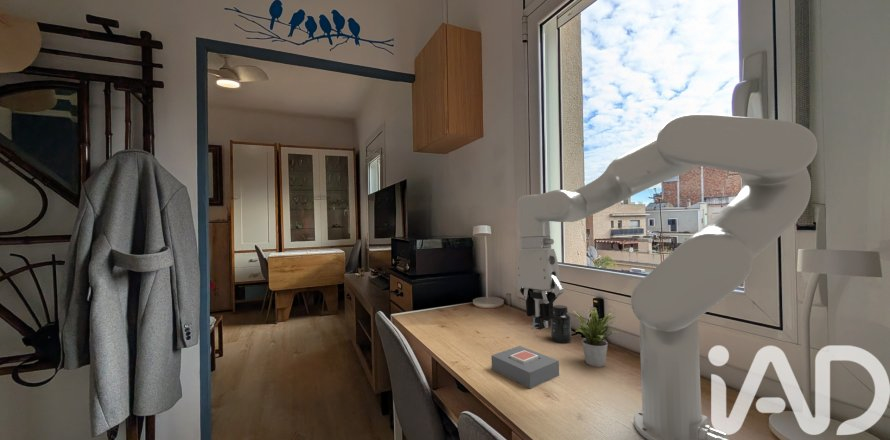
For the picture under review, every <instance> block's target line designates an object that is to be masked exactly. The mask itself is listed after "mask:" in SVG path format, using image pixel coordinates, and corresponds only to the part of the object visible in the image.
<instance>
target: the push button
mask: <svg viewBox="0 0 890 440" xmlns="http://www.w3.org/2000/svg"><path fill="white" fill-rule="evenodd" d="M529 293H530V297H531V298H533V299H534V300H535V315H534V316H533V318H532V320H533V322H532V324H531V326H532V327H531V329H532V330H539V331H540V330H542V329H547V328H549V327H550V328H551V319H550V320H544V319H543V311H542V303H544V300H543V296H542V292H541V291H540V290H533V289H532V290H530V291H529ZM547 294H548V296H549V292H547Z"/></svg>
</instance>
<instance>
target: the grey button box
mask: <svg viewBox="0 0 890 440" xmlns="http://www.w3.org/2000/svg"><path fill="white" fill-rule="evenodd" d="M524 350H525V351H528V352H530V353H533V354H535V355H538V360H535V361H533V362H530V363H528V364H525V365H524V364H521V363H519V362H517V361H514V360H512V359H510V355H513V354H515V353H518V352H521V351H524ZM491 370H493V372H496V373H498V374H501V375H503V376H504V377H506V378H508V379H510V380H512V381H515V382H516V383H518V384H520V385H522V386H524V387H526V388H528V389H533V388H535V387H538V386H540V385H541V384H543V383H546V382H547V381H548V382H549V381H550V380H552V379H554V378H558V377H559V376H560V360H558V359H556V358H553V357H550V356H547V355H545V354H543V353H540V352H536V351H535V350H532V349H530V348H526V347H524V346H522V345H519V346H516V347H512V348H509V349H507V350H503V351H501V352H497V353H494V354H492V355H491Z"/></svg>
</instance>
